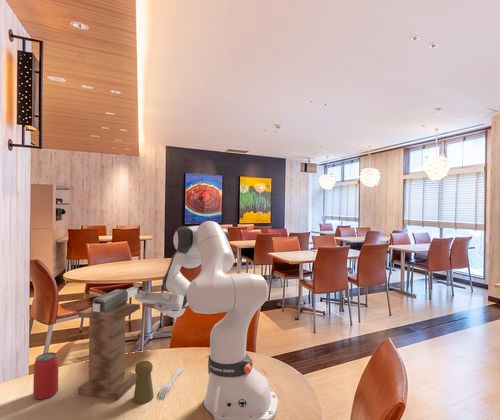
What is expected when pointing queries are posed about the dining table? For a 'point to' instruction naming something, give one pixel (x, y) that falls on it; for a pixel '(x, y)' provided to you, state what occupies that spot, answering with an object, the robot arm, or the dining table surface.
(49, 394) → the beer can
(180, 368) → the fork
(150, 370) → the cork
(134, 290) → the grey bar
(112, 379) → the tube stand
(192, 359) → the dining table surface
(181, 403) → the dining table surface
